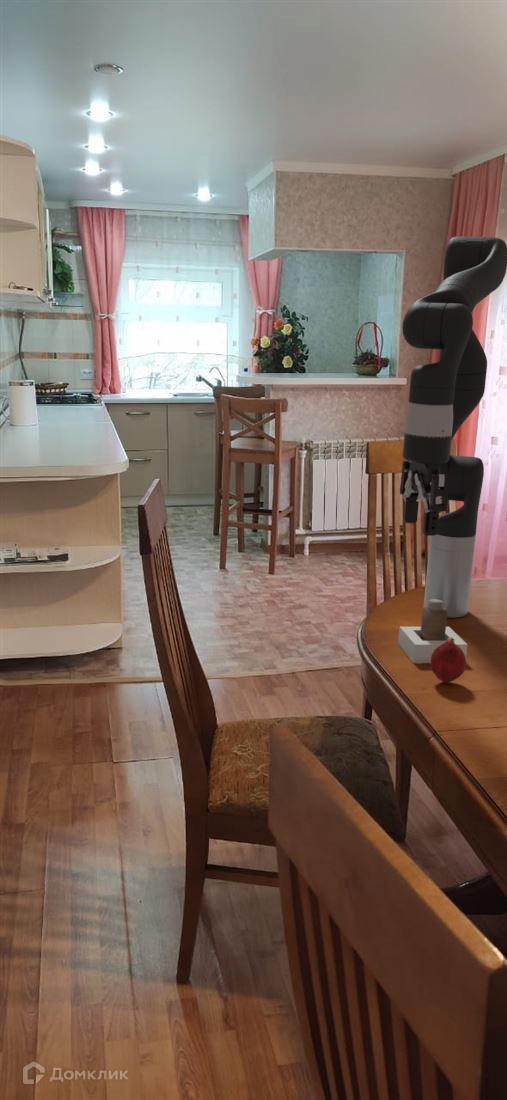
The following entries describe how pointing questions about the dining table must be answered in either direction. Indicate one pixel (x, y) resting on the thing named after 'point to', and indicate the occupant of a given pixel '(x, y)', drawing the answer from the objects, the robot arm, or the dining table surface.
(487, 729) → the dining table surface
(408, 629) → the holder
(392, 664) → the dining table surface
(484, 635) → the dining table surface
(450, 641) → the onion
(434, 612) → the pepper mill
